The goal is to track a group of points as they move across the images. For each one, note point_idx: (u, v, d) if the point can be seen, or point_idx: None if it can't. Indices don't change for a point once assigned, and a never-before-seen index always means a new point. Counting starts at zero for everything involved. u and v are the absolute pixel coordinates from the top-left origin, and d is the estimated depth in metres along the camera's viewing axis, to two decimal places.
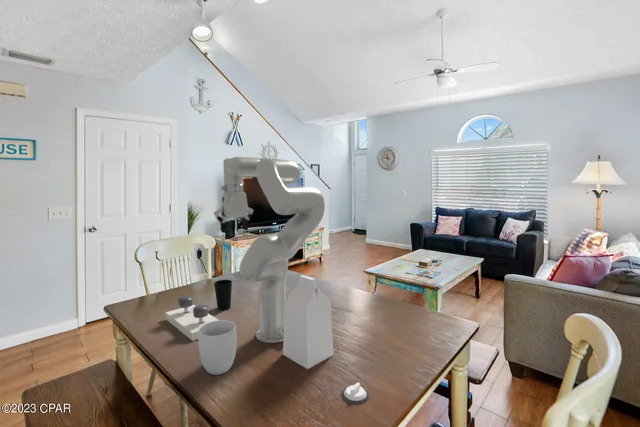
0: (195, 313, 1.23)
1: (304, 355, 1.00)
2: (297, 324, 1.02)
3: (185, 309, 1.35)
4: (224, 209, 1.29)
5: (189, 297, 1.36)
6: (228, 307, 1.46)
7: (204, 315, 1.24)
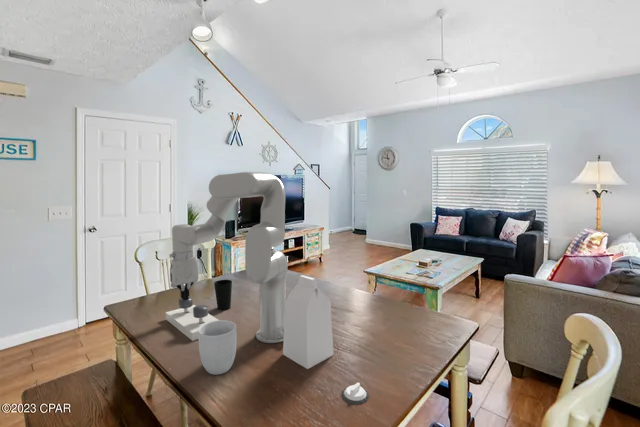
0: (195, 313, 1.23)
1: (304, 355, 1.00)
2: (297, 324, 1.02)
3: (185, 310, 1.35)
4: (172, 277, 1.29)
5: (189, 298, 1.36)
6: (228, 307, 1.46)
7: (204, 315, 1.24)
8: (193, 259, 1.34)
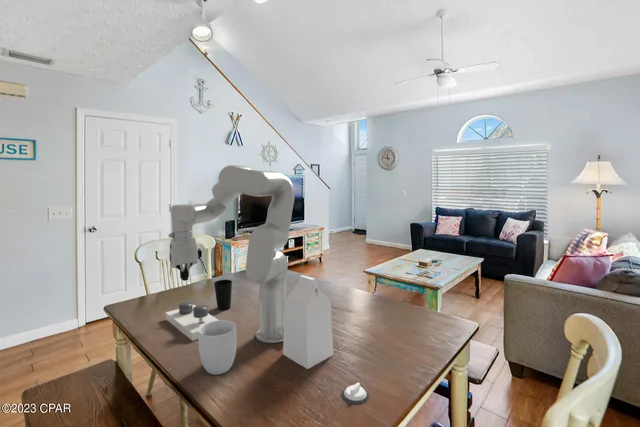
0: (195, 313, 1.23)
1: (304, 355, 1.00)
2: (297, 324, 1.02)
3: None
4: (171, 256, 1.28)
5: (189, 303, 1.36)
6: (228, 307, 1.46)
7: (204, 315, 1.24)
8: (192, 239, 1.33)
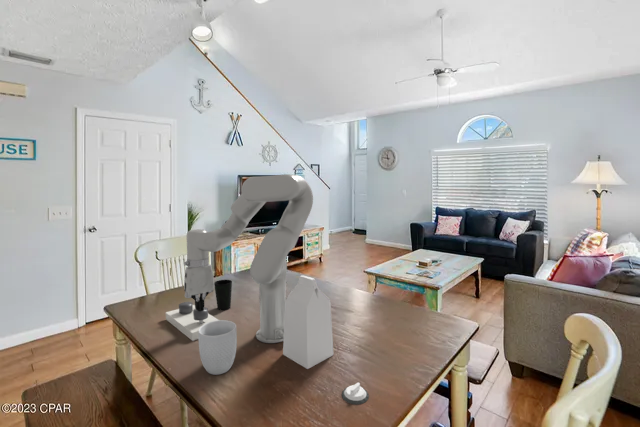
0: (195, 315, 1.23)
1: (304, 355, 1.00)
2: (297, 324, 1.02)
3: None
4: (187, 286, 1.20)
5: (189, 303, 1.36)
6: (228, 307, 1.46)
7: (204, 317, 1.24)
8: (209, 267, 1.24)
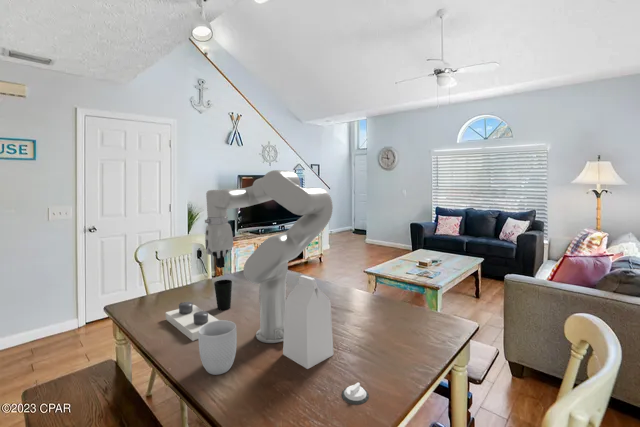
0: (195, 320, 1.23)
1: (304, 355, 1.00)
2: (297, 324, 1.02)
3: None
4: (208, 243, 1.25)
5: (189, 303, 1.36)
6: (228, 307, 1.46)
7: (204, 321, 1.24)
8: (228, 225, 1.30)
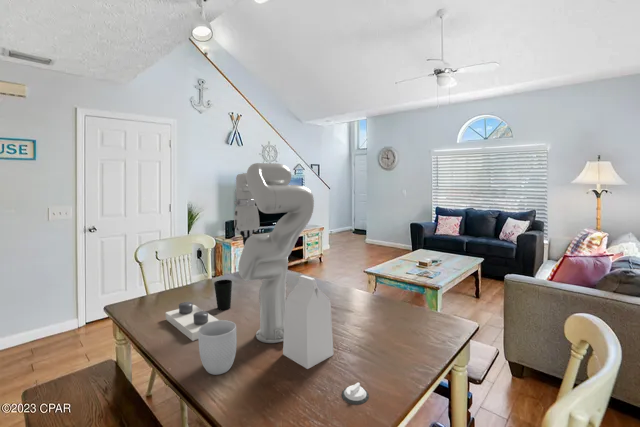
0: (195, 320, 1.23)
1: (304, 355, 1.00)
2: (297, 324, 1.02)
3: None
4: (237, 222, 1.36)
5: (189, 303, 1.36)
6: (228, 307, 1.46)
7: (204, 321, 1.24)
8: (255, 207, 1.40)
